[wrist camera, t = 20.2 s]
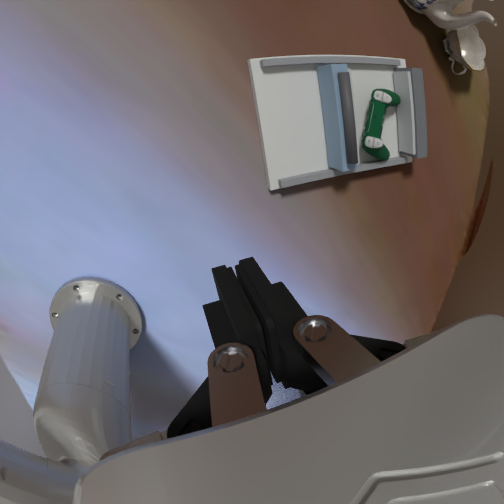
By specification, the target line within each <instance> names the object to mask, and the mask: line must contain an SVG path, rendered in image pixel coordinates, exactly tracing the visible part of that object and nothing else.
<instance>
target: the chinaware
mask: <svg viewBox="0 0 504 504" xmlns="http://www.w3.org/2000/svg"><path fill="white" fill-rule="evenodd" d="M403 1H404V2H405V4H406V5H407V6H408V7H409V8H411V9H412V10H413V11H415V12H417V13H419V14H425V15H426V16H427V17H428V18H429V19H430V20H431V21H432V22H433V23H434V24H435V25H436V26H438V27H440V28H443V29H448V30H450V31H449V33H448V35H447V38H446V39H445V40H443V42H444V47H445V51H446V52H447V53H448V54H450V55H451V56H450V57H449V60H450V61H453V62H452V65H451V70H452V72H453V73H454V74H456V75H462V74H464V73H465V72H466V70H467V67H468V68H469V69H470V70H473V71H475V70H476V71H482V70H484V67H485V63H484V60H483V59H484V58H485V56H486V47H485V44H484V42H483V41H482V40H481V38H480V37H478V36H479V32H478V29H477V28H476V26H475V25H474V24H475V23H478V22H480V21H483V20H485V21H489V22H490V23H492V24H493V25H494V26H497V22H496V21H495V19H494V18H493V17H492V16H491V15H490V14H489V13H487V12H484V11H473V12H468V13H464V14H459V15H453V13H452V11H453V10H454V9H455V7H456V6H457V5H458V4H459V3H460V2H462V1H464V0H403ZM492 1H493V0H492ZM454 59H455V60H456V61H457V62H459V63H460V64H462V65H464V66H463V68H465V69H464V70H463V71H462V72H460V73H455V72H454V70H453V65H454V62H455V60H454Z"/></svg>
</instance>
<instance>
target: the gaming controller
mask: <svg viewBox="0 0 504 504" xmlns="http://www.w3.org/2000/svg"><path fill="white" fill-rule="evenodd" d="M400 102H401V99H400V97H399V95H398V94H396V93H395V92H393V91H390V90H387V89H375V90H373V91H372V93H371V99H370V104H369V105H368V108H367V111H368V117H367V122H366V126H364V128H363V134H364V137H363V140H362V143H363V144H362V148H363V149H364V150H365V151H366V152H367V153H368V154H370V155H371V156H373V157H375V158H377V159H379V160H382V161H386V160H388V159H389V157H390V152H389V150H388V149H387V147H386V146H385V145H384V144H383V141H382V139H381V134H382V129H383V124H384V119H385V114H386V109H387V108H388V107H390V106H396V105H398V104H400Z"/></svg>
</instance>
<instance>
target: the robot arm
mask: <svg viewBox="0 0 504 504" xmlns="http://www.w3.org/2000/svg"><path fill="white" fill-rule="evenodd" d="M235 270H236V274H237V277H236V275H235V273H234V271H233V269H232V267H228V268H226V266H225V265H222V266H219V267H215V268H212V273H213V277H214V281H215V284H216V288H217V292H218V296H219V299H220V300H219V301H215V302H212V303H209V304H205V305H203V309H204V312H205V316H206V319H207V322H208V326H209V329H210V333H211V336H212V339H213V342H214V346H215V350H214V351H213V352H212V353H211V354H210V356H209V358H208V377H207V378H206V380H205V381H204V382H203V383H202V385H201V386H200V387H199V388H198V390H197V391H196V392H195V394H194V395H193V396H192V397H191V399H190V400H189V401H188V402H187V404H186V405H185V406H184V407H183V409H182V410H181V411H180V412H179V414H178V415H177V416H176V417H175V419H174V420H173V421H172V422H171V424H170V426H169V427H168V430H167V431H164V432H162V433H159V432H158V431H156V432H154V433H152V434H149V435H147V436H145V437H142V438H140V439H137V440H135V441H132V433H131V412H130V375H131V373H132V372H131V370H130V350H131V349H132V348H133V347H134V346H135V345H136V343H137V342H138V340H139V338H140V335H141V331H142V317H141V312H140V309H139V307H138V305H137V303H136V302H135V300H134V299H133V297H132V296H131V295H130V294H129V293H128V292H127V291H126V290H124V289H123V288H121V287H120V286H119V285H117V284H115V283H113V282H111V281H108V280H105V279H101V278H95V277H82V278H78V279H74V280H71V281H69V282H67V283H66V284H64V285H63V286H62V287H61V288H59V290H58V291H57V292H56V294H55V296H54V298H53V300H52V303H51V306H50V321H51V324H52V327H53V330H54V334H53V337H52V340H51V343H50V347H49V350H48V353H47V357H46V360H45V364H44V368H43V372H42V375H41V379H40V383H39V388H38V392H37V396H36V400H35V404H34V410H33V421H34V427H35V432H36V435H37V437H38V440H39V443H40V445H41V447H42V449H43V451H44V453H45V455H46V456H47V458H46V457H41V456H38V455H36V454H33V453H31V452H28V451H26V450H23V449H21V448H19V447H17V446H15V445H12V444H10V443H8V442H6V441H4V440H2V439H0V504H504V318H503V317H500V316H498V315H493V314H489V315H488V314H487V315H478V316H473V317H470V318H467V319H464V320H461V321H458V322H456V323H454V324H451V325H449V326H447V327H445V328H443V329H441V330H438V331H435V332H432V333H429V334H426V335H422V336H419V337H416V338H412V339H409V340H405V341H404V344H400V343H397V342H393V341H387V340H380V339H374V338H368V337H362V336H356V335H350V334H348V333H347V332H346V331H345V330H344V329H343V328H341V327H340V326H339V325H338V324H337V323H336V322H334V321H333V320H332V319H330V318H328V317H325V316H321V315H313V316H307V315H306V313H305V312H304V311H303V309H302V308H301V307H300V305H299V304H298V302H297V301H296V300H295V298H294V297H293V296H292V294H291V293H290V292H289V290H288V289H287V288H286V286H285V285H284V284H283V283H282V282H278V283H274V284H271V283H270V281H269V280H268V279H267V277H266V276H265V274H264V273H263V271H262V270H261V268H260V267H259V265H258V264H257V262H256V261H255V259H254V258H253V257H250V258H246V259H243V260H240V261H239V265H235ZM119 294H121V295H119ZM270 371H271V372H270ZM271 373H272V375H273V377H274V379H275V381H276V383H279V382H282V384H283V386H284V388H285V389H287V388H289V387H291V388H295V389H299V393H300V395H301V398H298V399H296V400H293V401H290V402H288V403H285V404H282V405H280V406H277V407H274V408H271V409H268V410H267V408H266V403H267V402H268V400H269V398H270V397H271V395H272V389H271V385H273V383H272V377H271Z"/></svg>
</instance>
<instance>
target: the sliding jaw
mask: <svg viewBox="0 0 504 504" xmlns="http://www.w3.org/2000/svg"><path fill="white" fill-rule="evenodd" d="M317 74H318V80H319V87H320V94H321V102H322V110H323V118H324V127H325V136H326V145H327V156H328V166H329V167H332V168H334V169H337V170H340V171H342V172H344V171H349V170H354V169H357V164H360V160H359V145H358V132H357V121H356V111H355V101H354V93H353V85H352V77H351V70H350V69H349V68H347V64H329V65H323V66H318V67H317Z"/></svg>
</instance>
